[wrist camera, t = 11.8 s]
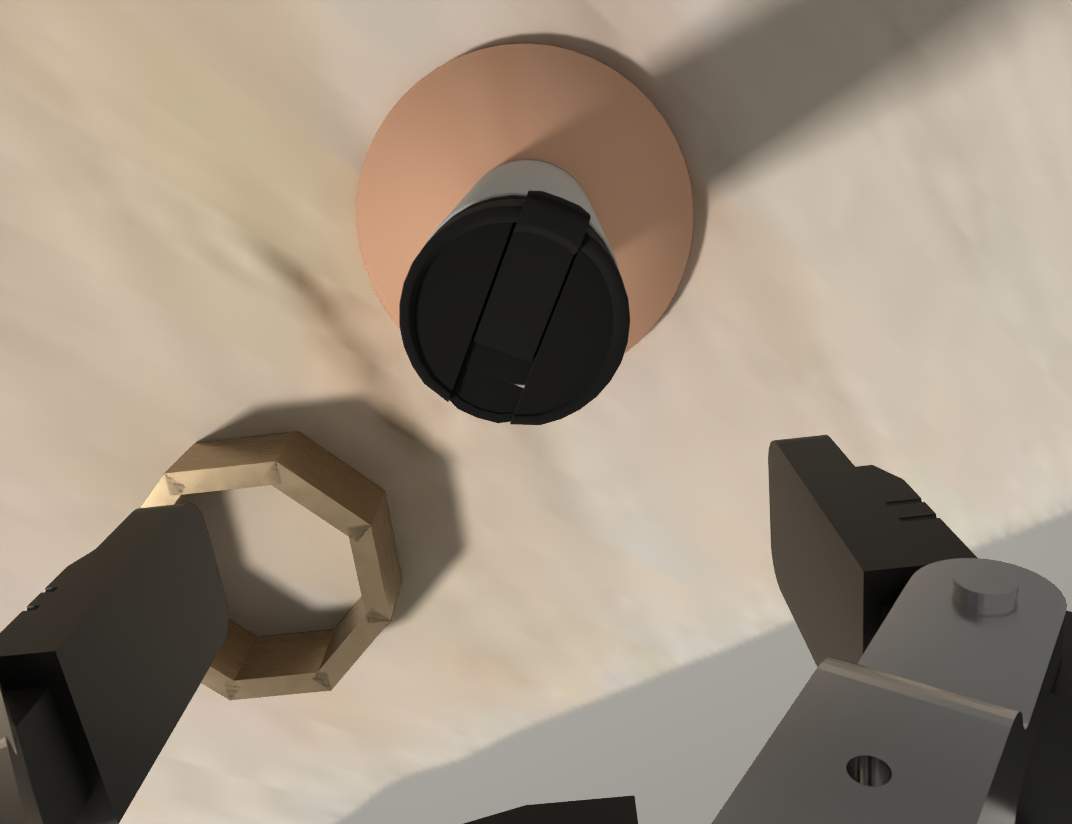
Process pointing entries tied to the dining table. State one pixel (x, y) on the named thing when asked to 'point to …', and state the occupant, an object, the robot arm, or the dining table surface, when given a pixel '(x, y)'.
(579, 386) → the travel mug
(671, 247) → the coaster
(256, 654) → the collar ring
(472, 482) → the dining table surface
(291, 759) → the dining table surface
